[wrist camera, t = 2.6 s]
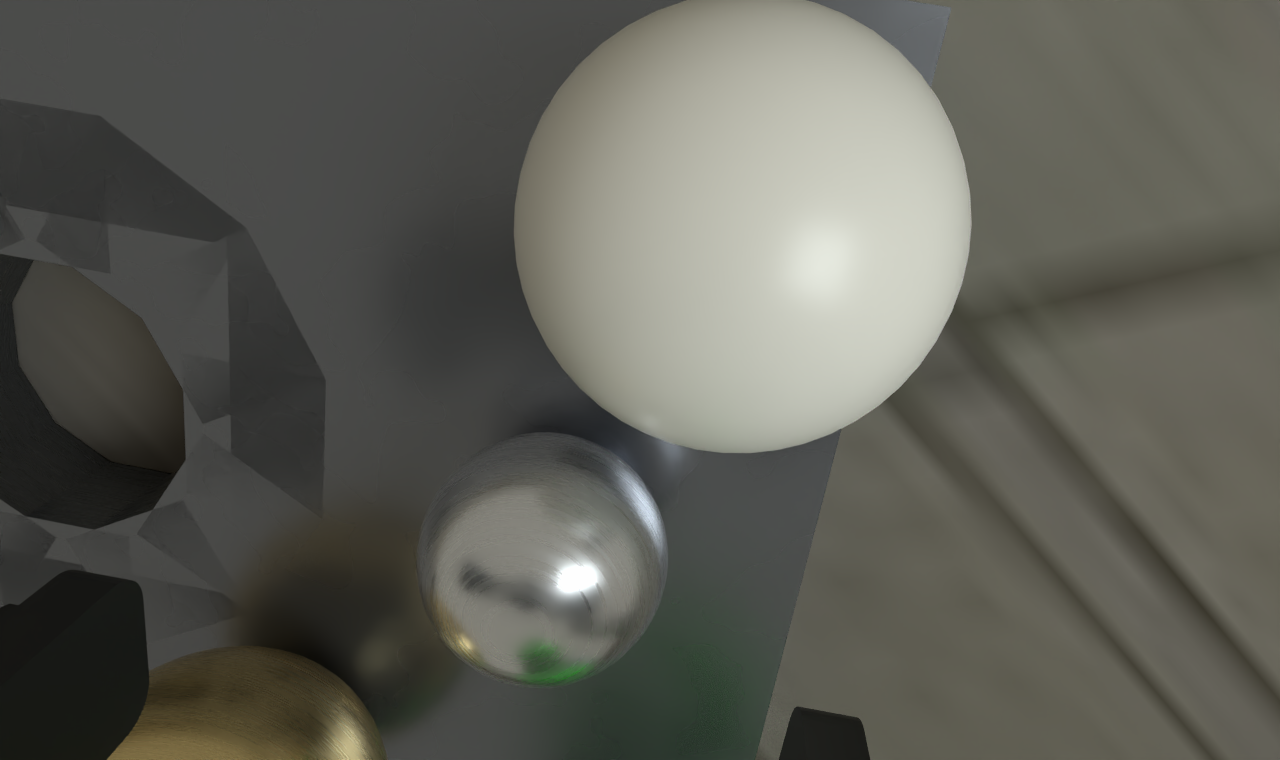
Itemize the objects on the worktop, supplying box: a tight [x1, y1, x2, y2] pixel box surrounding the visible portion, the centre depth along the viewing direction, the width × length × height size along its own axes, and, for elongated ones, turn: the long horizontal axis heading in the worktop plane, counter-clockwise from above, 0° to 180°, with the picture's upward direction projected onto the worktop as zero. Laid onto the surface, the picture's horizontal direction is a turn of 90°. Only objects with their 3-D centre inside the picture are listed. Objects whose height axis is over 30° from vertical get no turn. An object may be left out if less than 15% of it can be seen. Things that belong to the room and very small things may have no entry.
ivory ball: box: [514, 0, 971, 453], centre depth 11 cm, size 6×6×6 cm
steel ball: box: [416, 432, 668, 688], centre depth 14 cm, size 4×4×4 cm
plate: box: [0, 0, 951, 760], centre depth 17 cm, size 21×18×2 cm
